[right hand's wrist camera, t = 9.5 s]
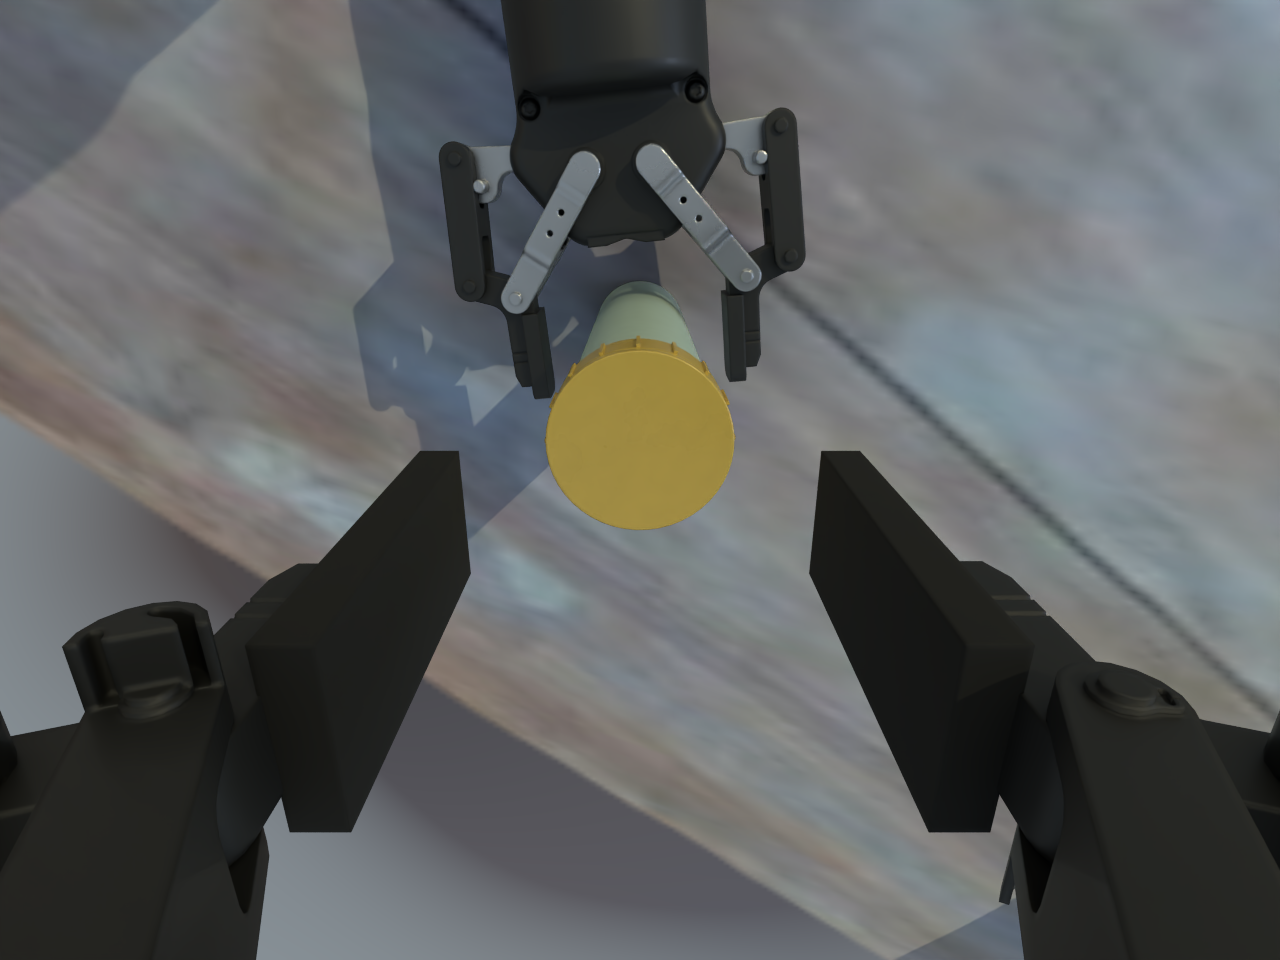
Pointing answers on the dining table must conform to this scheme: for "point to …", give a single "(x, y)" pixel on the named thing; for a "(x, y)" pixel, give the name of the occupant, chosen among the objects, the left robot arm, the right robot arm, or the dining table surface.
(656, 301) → the pale green rounded cylinder
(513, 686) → the dining table surface
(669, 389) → the lid
